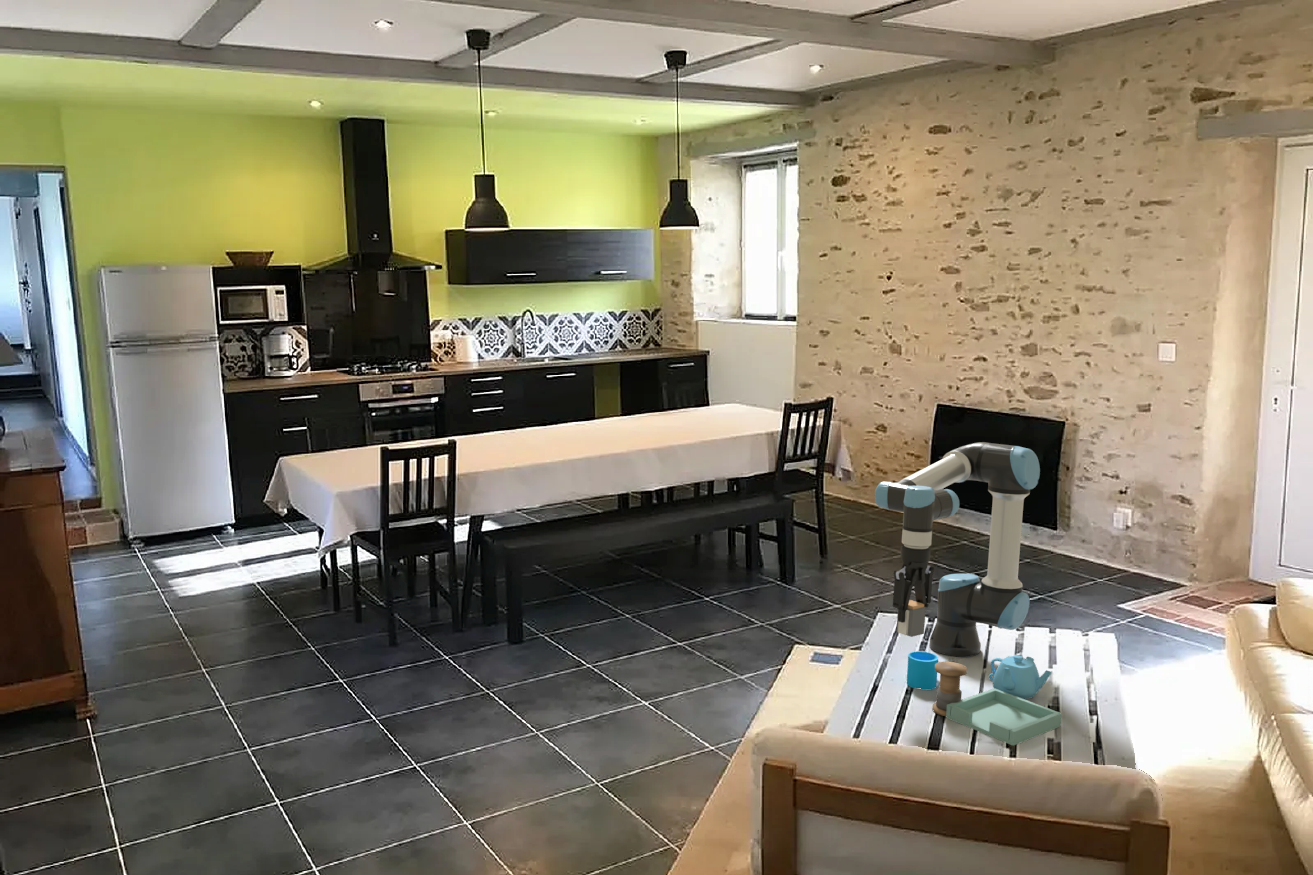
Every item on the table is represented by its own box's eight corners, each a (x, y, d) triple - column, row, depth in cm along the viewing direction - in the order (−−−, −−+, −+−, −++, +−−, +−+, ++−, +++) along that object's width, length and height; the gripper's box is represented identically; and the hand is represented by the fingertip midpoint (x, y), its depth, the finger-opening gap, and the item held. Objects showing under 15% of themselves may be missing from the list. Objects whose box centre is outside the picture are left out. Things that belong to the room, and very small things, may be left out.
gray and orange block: (923, 633, 275) (925, 604, 274) (911, 636, 272) (913, 607, 271) (908, 628, 279) (910, 599, 278) (896, 631, 276) (898, 602, 275)
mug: (927, 692, 287) (929, 663, 286) (901, 684, 292) (902, 656, 291) (948, 681, 296) (950, 653, 294) (922, 673, 301) (924, 646, 300)
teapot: (1052, 707, 278) (1055, 666, 276) (1001, 707, 278) (1004, 666, 276) (1030, 685, 293) (1033, 646, 292) (981, 685, 293) (984, 646, 291)
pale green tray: (993, 700, 282) (994, 688, 281) (1060, 726, 266) (1061, 713, 266) (946, 717, 270) (946, 704, 270) (1013, 745, 254) (1014, 732, 254)
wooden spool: (945, 702, 280) (948, 659, 278) (970, 712, 274) (973, 668, 272) (925, 709, 275) (928, 665, 273) (950, 719, 269) (953, 674, 267)
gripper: (927, 538, 281) (921, 622, 284) (881, 546, 270) (875, 633, 273) (949, 544, 275) (943, 630, 278) (904, 552, 264) (898, 641, 267)
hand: (909, 631), depth 276 cm, fingers closed on gray and orange block, 5 cm apart
